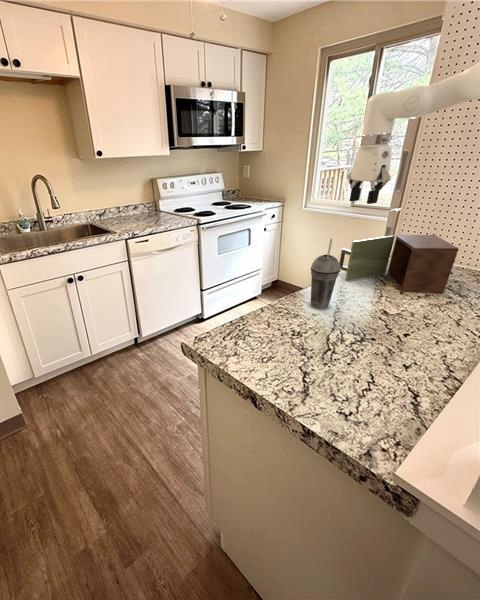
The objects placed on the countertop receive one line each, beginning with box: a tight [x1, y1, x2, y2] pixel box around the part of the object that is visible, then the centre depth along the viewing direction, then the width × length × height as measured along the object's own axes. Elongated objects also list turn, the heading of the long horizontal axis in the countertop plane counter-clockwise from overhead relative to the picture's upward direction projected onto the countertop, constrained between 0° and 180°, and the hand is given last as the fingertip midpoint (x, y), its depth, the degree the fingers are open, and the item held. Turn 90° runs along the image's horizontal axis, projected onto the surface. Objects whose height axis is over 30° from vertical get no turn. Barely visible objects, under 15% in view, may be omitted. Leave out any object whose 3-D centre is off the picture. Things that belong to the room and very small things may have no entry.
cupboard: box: [386, 234, 459, 294], centre depth 96 cm, size 10×15×14 cm
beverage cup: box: [310, 238, 341, 310], centre depth 87 cm, size 7×7×20 cm
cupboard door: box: [338, 234, 396, 282], centre depth 106 cm, size 6×15×14 cm, turn 100°
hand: (362, 201), depth 102 cm, fingers open, 6 cm apart
